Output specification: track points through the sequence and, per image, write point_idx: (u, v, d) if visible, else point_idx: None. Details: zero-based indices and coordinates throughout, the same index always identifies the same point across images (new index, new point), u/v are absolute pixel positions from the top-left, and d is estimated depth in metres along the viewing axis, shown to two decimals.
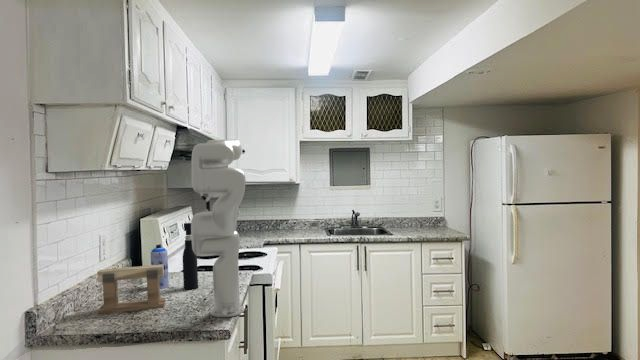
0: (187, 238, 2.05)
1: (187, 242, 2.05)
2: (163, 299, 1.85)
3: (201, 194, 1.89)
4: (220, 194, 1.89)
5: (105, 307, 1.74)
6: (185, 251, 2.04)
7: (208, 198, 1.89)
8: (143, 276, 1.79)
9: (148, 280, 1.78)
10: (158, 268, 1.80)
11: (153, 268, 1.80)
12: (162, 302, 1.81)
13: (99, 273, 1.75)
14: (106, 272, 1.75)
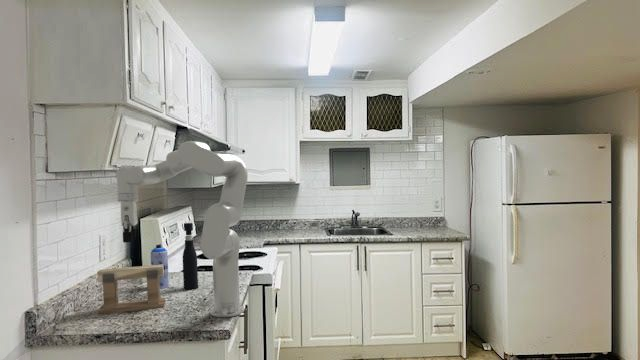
0: (187, 238, 2.05)
1: (187, 242, 2.05)
2: (163, 299, 1.85)
3: (127, 224, 1.72)
4: (136, 222, 1.80)
5: (105, 307, 1.74)
6: (185, 251, 2.04)
7: (130, 228, 1.75)
8: (143, 276, 1.79)
9: (148, 280, 1.78)
10: (158, 268, 1.80)
11: (153, 268, 1.80)
12: (162, 302, 1.81)
13: (99, 273, 1.75)
14: (106, 272, 1.75)
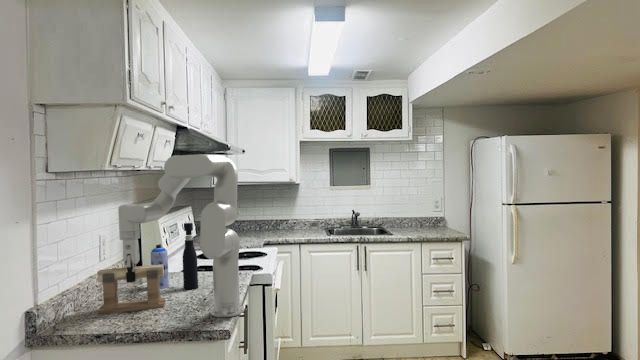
0: (187, 238, 2.05)
1: (187, 242, 2.05)
2: (163, 299, 1.85)
3: (130, 266, 1.74)
4: (138, 259, 1.80)
5: (105, 307, 1.74)
6: (185, 251, 2.04)
7: None
8: (143, 276, 1.79)
9: (148, 280, 1.78)
10: (158, 268, 1.80)
11: (153, 268, 1.80)
12: (162, 302, 1.81)
13: (99, 273, 1.75)
14: (106, 272, 1.75)
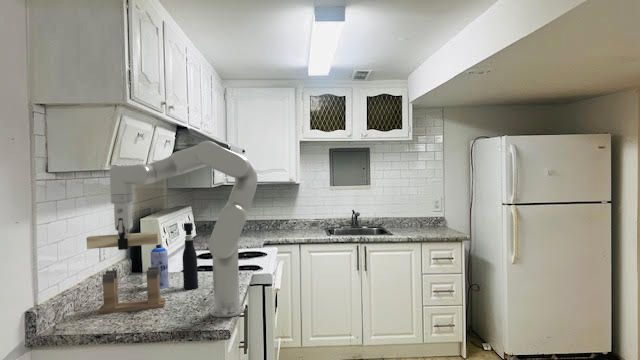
0: (187, 238, 2.05)
1: (187, 242, 2.05)
2: (163, 299, 1.85)
3: (122, 231, 1.61)
4: (131, 226, 1.67)
5: (105, 307, 1.74)
6: (185, 251, 2.04)
7: (126, 234, 1.64)
8: (136, 243, 1.65)
9: (148, 280, 1.78)
10: (152, 235, 1.67)
11: (147, 235, 1.66)
12: (162, 302, 1.81)
13: (88, 239, 1.61)
14: (96, 238, 1.62)
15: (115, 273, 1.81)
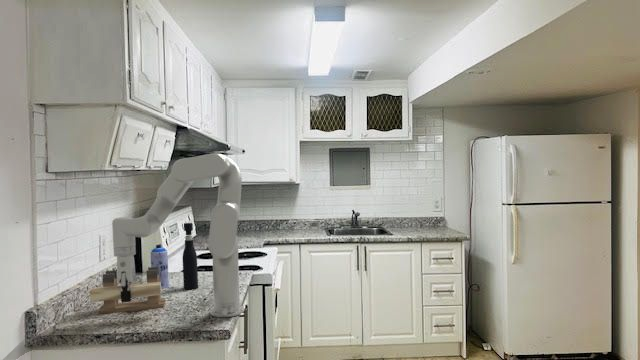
0: (187, 238, 2.05)
1: (187, 242, 2.05)
2: (163, 299, 1.85)
3: (125, 285, 1.61)
4: (134, 277, 1.67)
5: (105, 307, 1.74)
6: (185, 251, 2.04)
7: None
8: (139, 295, 1.66)
9: (148, 280, 1.78)
10: (155, 286, 1.67)
11: (150, 286, 1.67)
12: (162, 302, 1.81)
13: (91, 292, 1.61)
14: (99, 291, 1.62)
15: (115, 273, 1.81)
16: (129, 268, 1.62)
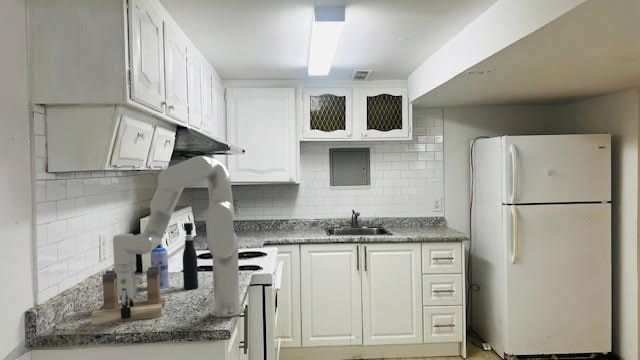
0: (187, 238, 2.05)
1: (187, 242, 2.05)
2: (163, 299, 1.85)
3: (125, 301, 1.60)
4: (134, 293, 1.67)
5: (105, 307, 1.74)
6: (185, 251, 2.04)
7: (129, 303, 1.63)
8: (140, 318, 1.66)
9: (148, 280, 1.78)
10: (156, 309, 1.68)
11: (151, 309, 1.67)
12: (162, 302, 1.81)
13: (92, 316, 1.62)
14: (100, 315, 1.62)
15: (115, 273, 1.81)
16: (130, 285, 1.62)
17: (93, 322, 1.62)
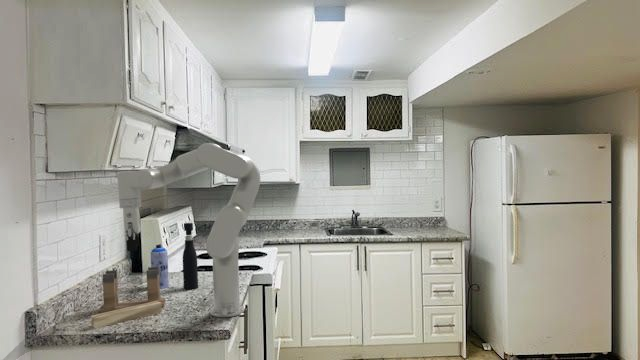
0: (187, 238, 2.05)
1: (187, 242, 2.05)
2: (163, 299, 1.85)
3: (131, 231, 1.62)
4: (140, 229, 1.70)
5: (105, 307, 1.74)
6: (185, 251, 2.04)
7: (134, 235, 1.65)
8: (142, 316, 1.68)
9: (148, 280, 1.78)
10: (157, 305, 1.72)
11: (152, 306, 1.71)
12: (162, 302, 1.81)
13: (96, 319, 1.58)
14: (104, 317, 1.59)
15: (115, 273, 1.81)
16: (135, 219, 1.65)
17: (97, 325, 1.58)
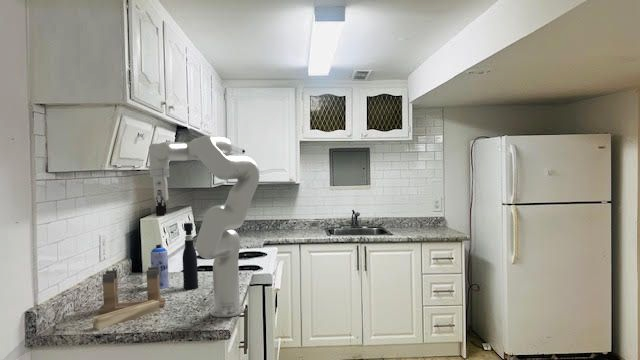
0: (187, 238, 2.05)
1: (187, 242, 2.05)
2: (163, 299, 1.85)
3: (160, 198, 1.79)
4: None
5: (105, 307, 1.74)
6: (185, 251, 2.04)
7: (163, 202, 1.82)
8: (142, 315, 1.69)
9: (148, 280, 1.78)
10: (155, 304, 1.74)
11: (151, 305, 1.72)
12: (162, 302, 1.81)
13: (100, 320, 1.56)
14: (107, 318, 1.58)
15: (115, 273, 1.81)
16: (164, 187, 1.82)
17: (101, 327, 1.56)
